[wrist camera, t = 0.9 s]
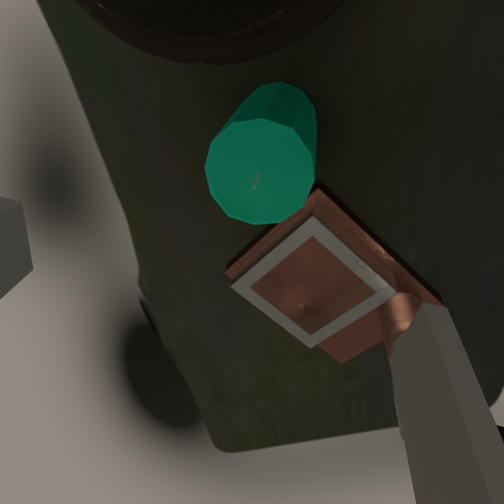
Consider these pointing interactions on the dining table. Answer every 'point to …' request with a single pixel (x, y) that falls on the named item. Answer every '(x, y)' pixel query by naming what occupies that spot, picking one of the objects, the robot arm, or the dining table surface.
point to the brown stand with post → (330, 280)
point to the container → (210, 26)
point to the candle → (265, 156)
